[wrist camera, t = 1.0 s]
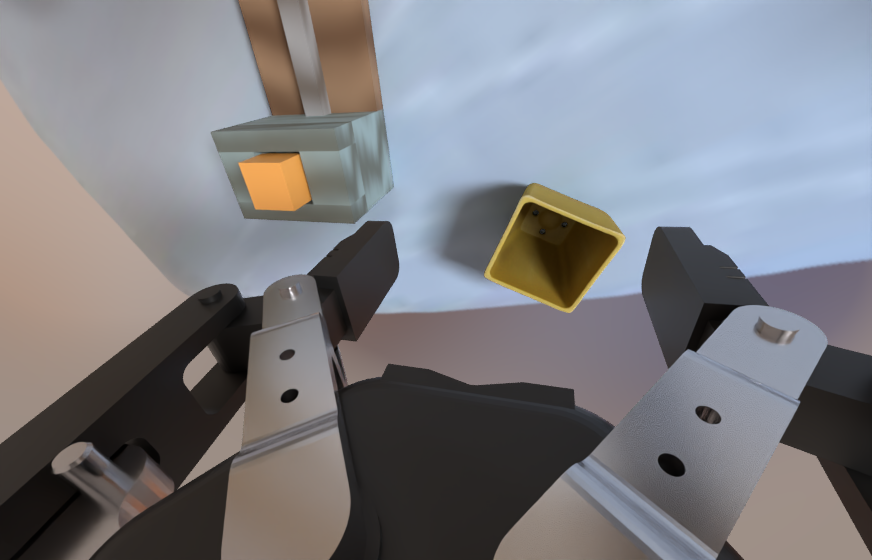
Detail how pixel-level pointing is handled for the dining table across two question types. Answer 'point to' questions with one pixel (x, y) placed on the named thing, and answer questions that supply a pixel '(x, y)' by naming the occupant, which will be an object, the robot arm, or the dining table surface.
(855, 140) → the dining table surface
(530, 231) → the flower pot
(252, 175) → the button
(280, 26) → the rail rig
